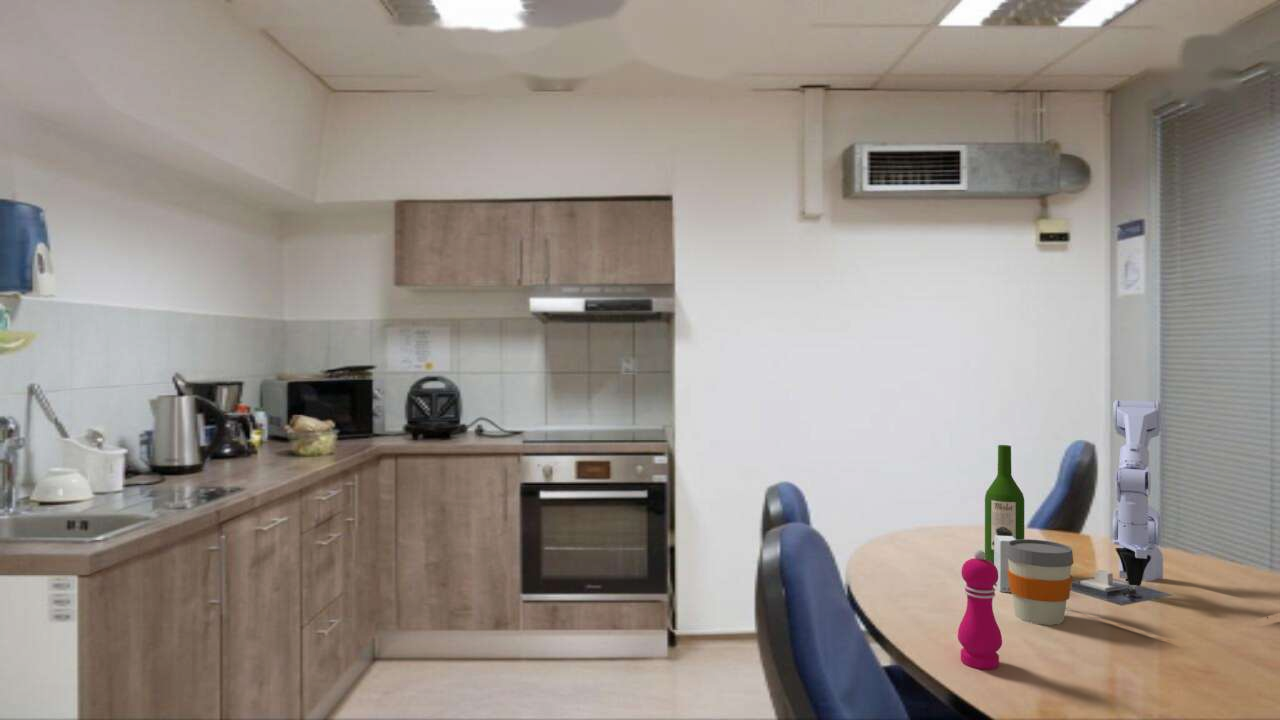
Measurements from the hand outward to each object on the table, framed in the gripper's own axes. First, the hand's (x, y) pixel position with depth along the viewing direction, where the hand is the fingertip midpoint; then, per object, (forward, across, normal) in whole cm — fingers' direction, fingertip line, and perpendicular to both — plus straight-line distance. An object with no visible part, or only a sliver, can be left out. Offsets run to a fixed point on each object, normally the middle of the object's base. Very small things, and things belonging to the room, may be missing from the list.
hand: (1132, 583), depth 171 cm
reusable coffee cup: (+4, +20, -21) cm, 29 cm away
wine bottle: (+4, -12, -25) cm, 28 cm away
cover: (+3, -5, -5) cm, 7 cm away
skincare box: (+4, 0, -26) cm, 26 cm away
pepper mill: (+4, +50, -34) cm, 61 cm away
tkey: (+2, 0, -1) cm, 3 cm away
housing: (+4, -3, -3) cm, 6 cm away
